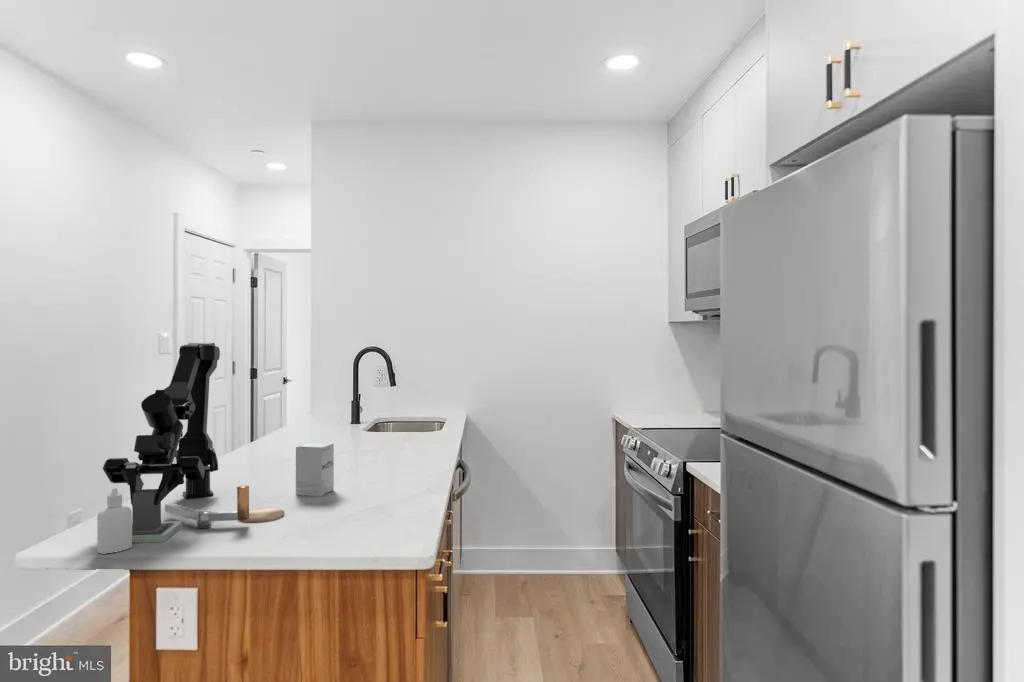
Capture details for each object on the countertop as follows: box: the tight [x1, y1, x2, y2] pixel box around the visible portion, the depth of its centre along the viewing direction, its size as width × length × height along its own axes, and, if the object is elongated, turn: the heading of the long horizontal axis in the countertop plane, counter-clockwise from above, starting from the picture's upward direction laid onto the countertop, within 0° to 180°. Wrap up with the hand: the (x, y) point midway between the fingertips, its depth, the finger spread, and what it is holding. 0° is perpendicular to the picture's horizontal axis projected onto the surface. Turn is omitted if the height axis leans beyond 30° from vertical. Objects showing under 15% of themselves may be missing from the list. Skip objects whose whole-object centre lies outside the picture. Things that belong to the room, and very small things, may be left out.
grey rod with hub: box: [164, 485, 250, 529], centre depth 148 cm, size 21×8×8 cm, turn 56°
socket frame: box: [132, 520, 184, 544], centre depth 139 cm, size 10×10×1 cm
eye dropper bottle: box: [96, 487, 133, 555], centre depth 129 cm, size 4×6×12 cm
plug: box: [131, 488, 168, 535], centre depth 139 cm, size 6×6×9 cm
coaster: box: [243, 507, 285, 523], centre depth 153 cm, size 10×10×1 cm
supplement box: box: [295, 442, 335, 497], centre depth 175 cm, size 7×7×13 cm
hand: (144, 504), depth 137 cm, fingers closed on plug, 4 cm apart
